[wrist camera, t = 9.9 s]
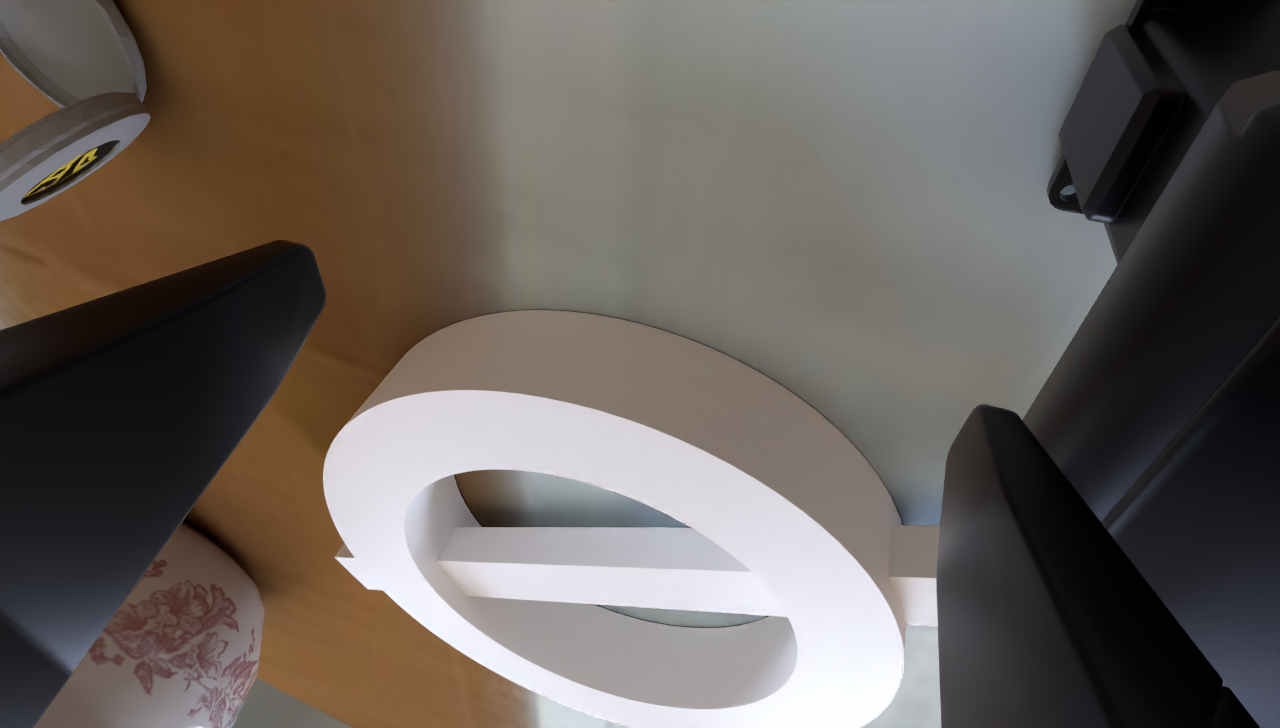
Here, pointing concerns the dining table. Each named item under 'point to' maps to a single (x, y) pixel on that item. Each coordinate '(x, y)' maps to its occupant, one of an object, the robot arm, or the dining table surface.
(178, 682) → the chamber pot
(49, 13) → the pocket watch
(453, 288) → the dining table surface
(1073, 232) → the dining table surface
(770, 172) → the dining table surface
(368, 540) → the ring with crossbar
